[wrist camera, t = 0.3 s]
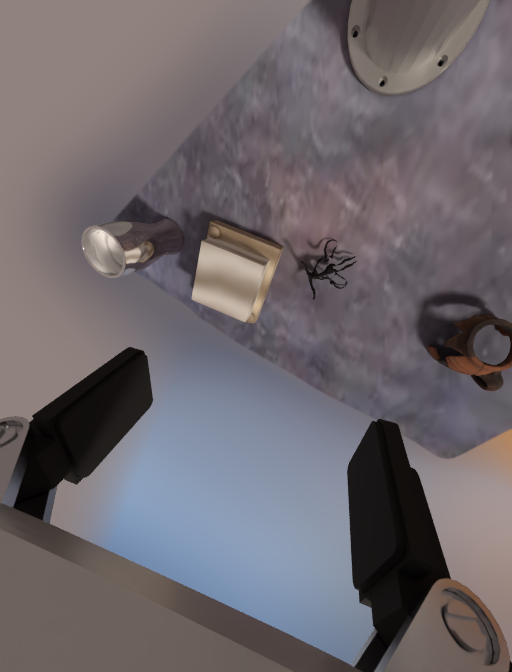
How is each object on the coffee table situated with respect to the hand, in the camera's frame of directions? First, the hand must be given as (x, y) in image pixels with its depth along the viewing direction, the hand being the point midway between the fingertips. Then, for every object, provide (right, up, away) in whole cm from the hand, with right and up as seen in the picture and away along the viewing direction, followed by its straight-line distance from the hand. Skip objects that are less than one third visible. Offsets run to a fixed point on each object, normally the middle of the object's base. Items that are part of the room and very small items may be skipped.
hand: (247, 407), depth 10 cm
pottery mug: (+34, +2, +29) cm, 45 cm away
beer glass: (-15, +21, +34) cm, 43 cm away
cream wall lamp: (-3, +14, +34) cm, 37 cm away
